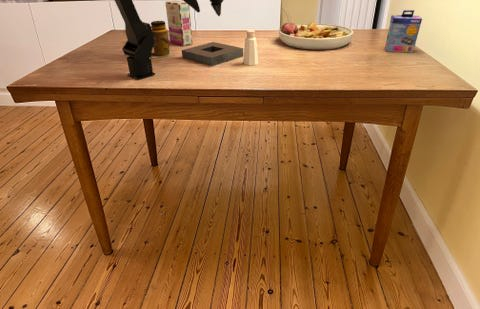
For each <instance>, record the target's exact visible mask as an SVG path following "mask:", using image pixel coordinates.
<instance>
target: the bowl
mask: <svg viewBox="0 0 480 309" xmlns="http://www.w3.org/2000/svg"><path fill="white" fill-rule="evenodd" d="M278 36H279V38H280V40H281V42H282V43H283V44H285V45H287V46H289V47H292V48H295V49H302V50H309V51H310V50H313V51H314V50H315V51H317V50H318V51H324V50H333V49H334V50H335V49H339V48H342V47H344V46H346V45H347V44H349V43H350V42H351V41H352V39H353V37H354V31H353V29H351V28H349V27H346V26H342V25H336V24H328V23H315V22H310V23H300V24H299V23H298V24H295V23H294V22H285V23H283V24H282V26H281V28H280V29H279V31H278Z"/></svg>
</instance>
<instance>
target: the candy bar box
mask: <svg viewBox="0 0 480 309" xmlns="http://www.w3.org/2000/svg"><path fill="white" fill-rule="evenodd" d="M164 3H165V9H166V10H165V11H166V18H167V26H168V34H169V36H168V37H169V42H170V43H172V44H175V45H179V46H182V47H185V46H190V45H193V34H192V22H191V11H190V5H188V4H187V3H186V2H184V1H178V0H168V1H165V2H164Z"/></svg>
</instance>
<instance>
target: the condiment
mask: <svg viewBox="0 0 480 309" xmlns="http://www.w3.org/2000/svg"><path fill="white" fill-rule="evenodd" d="M150 26H151V29H152V32H153V34H154V35H155V37H154V40H155V44H154V47H153V48H152V49H153V52H152V55H151V57H150V59H151V58H152V59H158V58H163V57H168V56H169V57H170V56H174V53H171V48H170V43H169V42H170V39H169V36H168V34H169V31H168V29H167V26H166V22H165V20H154V21H151V22H150Z"/></svg>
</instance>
